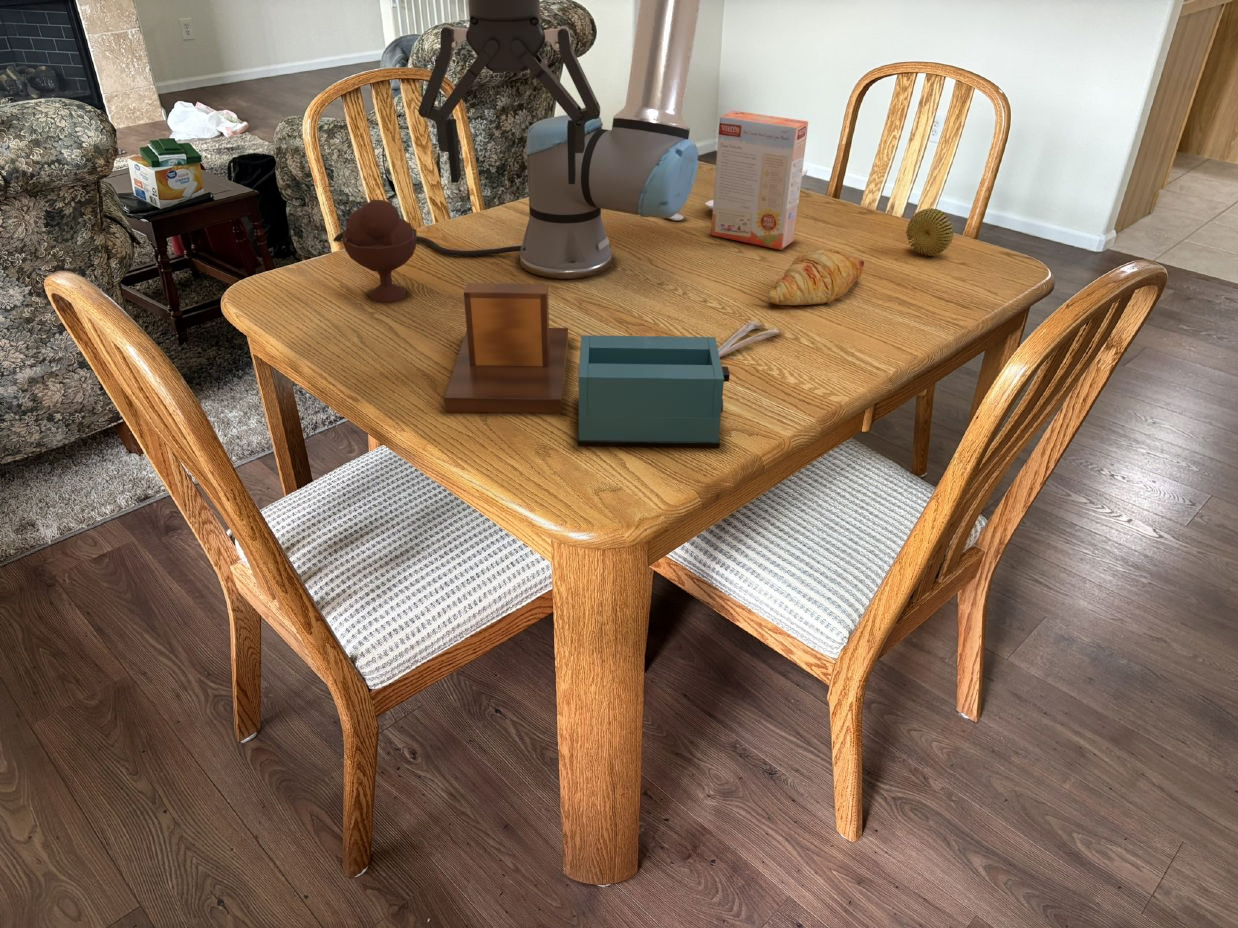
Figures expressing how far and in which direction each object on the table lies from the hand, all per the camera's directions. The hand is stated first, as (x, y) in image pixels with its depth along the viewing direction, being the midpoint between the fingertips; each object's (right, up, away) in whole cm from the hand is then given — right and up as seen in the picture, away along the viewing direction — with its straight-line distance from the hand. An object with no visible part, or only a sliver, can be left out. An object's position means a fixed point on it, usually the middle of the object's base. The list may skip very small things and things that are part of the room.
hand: (514, 180), depth 106 cm
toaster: (+16, -28, +2) cm, 33 cm away
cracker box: (+36, +7, +56) cm, 67 cm away
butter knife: (+16, +17, +71) cm, 74 cm away
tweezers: (+28, -18, +19) cm, 38 cm away
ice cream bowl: (-23, -7, +33) cm, 41 cm away
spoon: (+40, +20, +76) cm, 87 cm away
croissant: (+43, -6, +37) cm, 57 cm away
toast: (-2, -20, +11) cm, 23 cm away
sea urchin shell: (+66, +3, +51) cm, 83 cm away
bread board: (-2, -20, +14) cm, 25 cm away
